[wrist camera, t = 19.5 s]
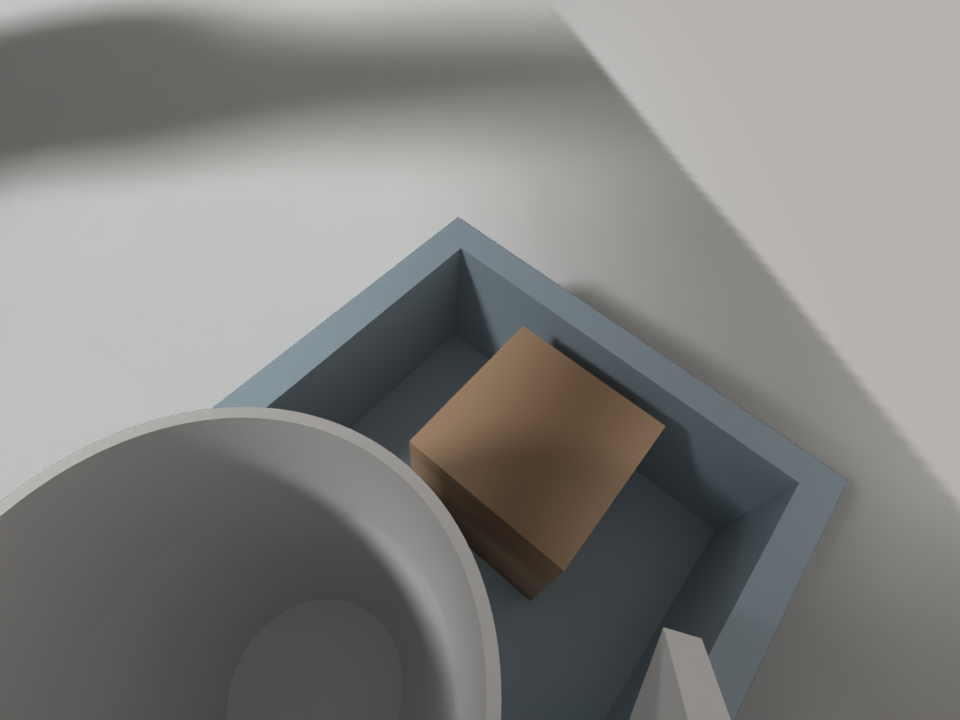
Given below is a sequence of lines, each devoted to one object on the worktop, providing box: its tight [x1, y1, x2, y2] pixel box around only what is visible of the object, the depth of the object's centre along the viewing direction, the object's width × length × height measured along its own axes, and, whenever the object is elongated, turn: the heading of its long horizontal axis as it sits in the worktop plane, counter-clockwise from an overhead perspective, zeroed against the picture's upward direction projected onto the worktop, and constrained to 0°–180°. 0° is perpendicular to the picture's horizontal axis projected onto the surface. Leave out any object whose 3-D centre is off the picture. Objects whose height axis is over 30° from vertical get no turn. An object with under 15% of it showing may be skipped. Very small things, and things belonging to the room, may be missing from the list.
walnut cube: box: [409, 326, 665, 601], centre depth 17 cm, size 5×5×5 cm
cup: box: [0, 407, 501, 720], centre depth 11 cm, size 8×8×10 cm
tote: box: [212, 217, 847, 720], centre depth 15 cm, size 14×19×6 cm
